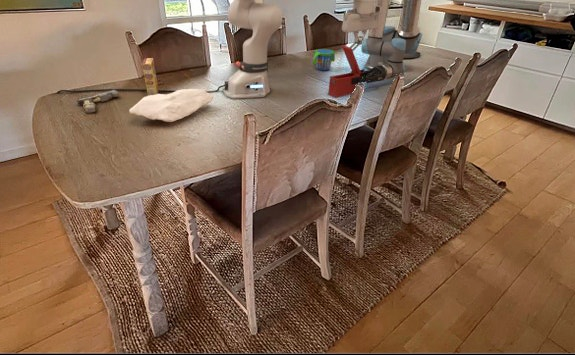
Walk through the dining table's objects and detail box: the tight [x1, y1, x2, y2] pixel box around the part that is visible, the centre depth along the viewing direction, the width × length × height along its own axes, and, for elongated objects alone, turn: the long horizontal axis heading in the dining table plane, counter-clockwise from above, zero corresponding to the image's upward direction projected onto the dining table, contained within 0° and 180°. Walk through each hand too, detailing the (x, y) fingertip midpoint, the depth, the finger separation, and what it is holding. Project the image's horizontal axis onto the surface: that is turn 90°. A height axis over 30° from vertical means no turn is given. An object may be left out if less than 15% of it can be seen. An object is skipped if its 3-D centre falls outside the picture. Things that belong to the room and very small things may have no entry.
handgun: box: [76, 90, 120, 114], centre depth 155 cm, size 3×18×15 cm
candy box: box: [141, 57, 160, 96], centre depth 163 cm, size 9×4×15 cm, turn 13°
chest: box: [327, 71, 360, 99], centre depth 176 cm, size 15×5×9 cm, turn 126°
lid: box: [341, 40, 363, 74], centre depth 172 cm, size 16×5×8 cm
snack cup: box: [312, 48, 336, 71], centre depth 209 cm, size 16×10×10 cm
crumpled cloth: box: [129, 88, 214, 123], centre depth 147 cm, size 24×35×9 cm
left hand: (359, 40), depth 168 cm, fingers closed, pressing on lid
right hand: (347, 79), depth 176 cm, fingers closed on chest, 5 cm apart
